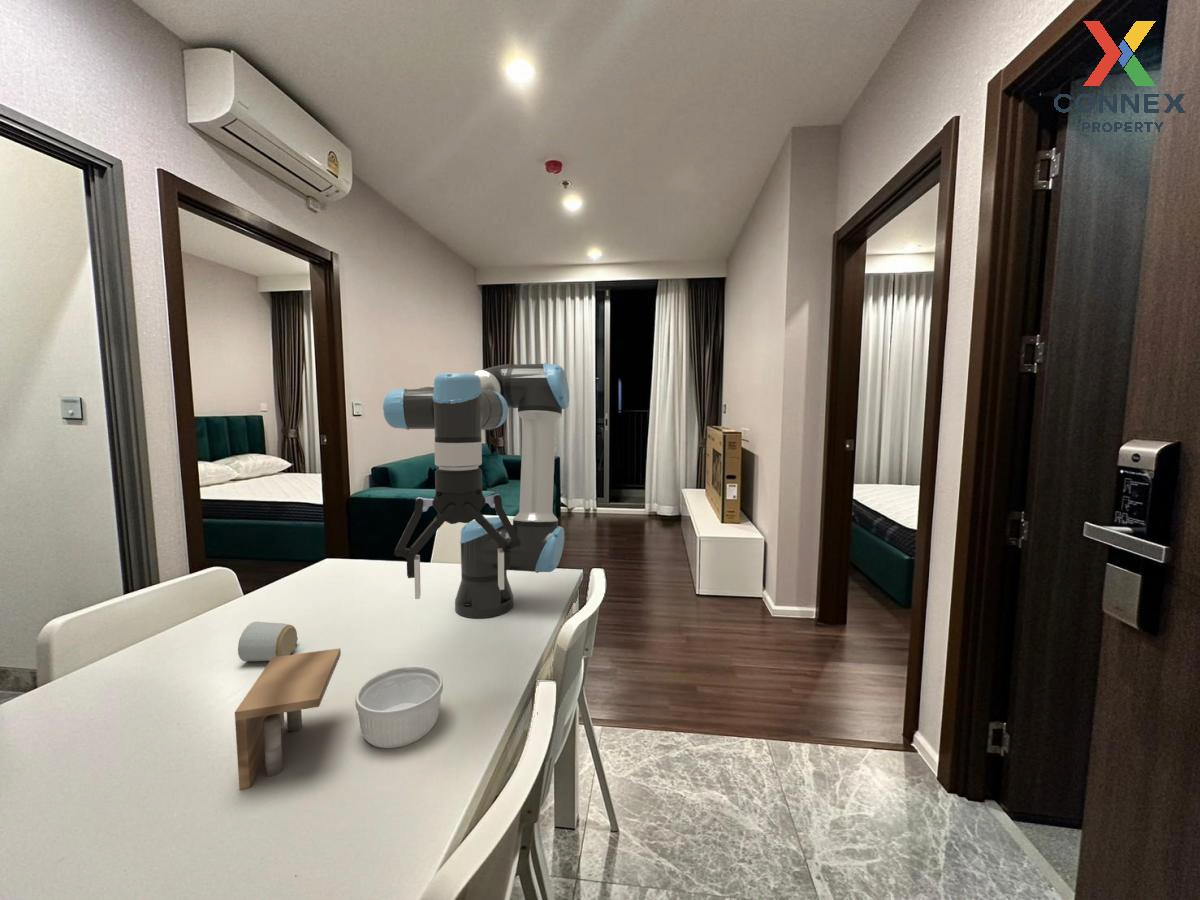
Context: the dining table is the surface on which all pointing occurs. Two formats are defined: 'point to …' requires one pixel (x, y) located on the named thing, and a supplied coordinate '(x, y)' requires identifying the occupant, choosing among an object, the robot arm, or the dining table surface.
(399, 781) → the dining table surface
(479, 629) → the dining table surface
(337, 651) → the walnut shelf
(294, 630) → the ceramic mug
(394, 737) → the ramekin
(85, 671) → the dining table surface
